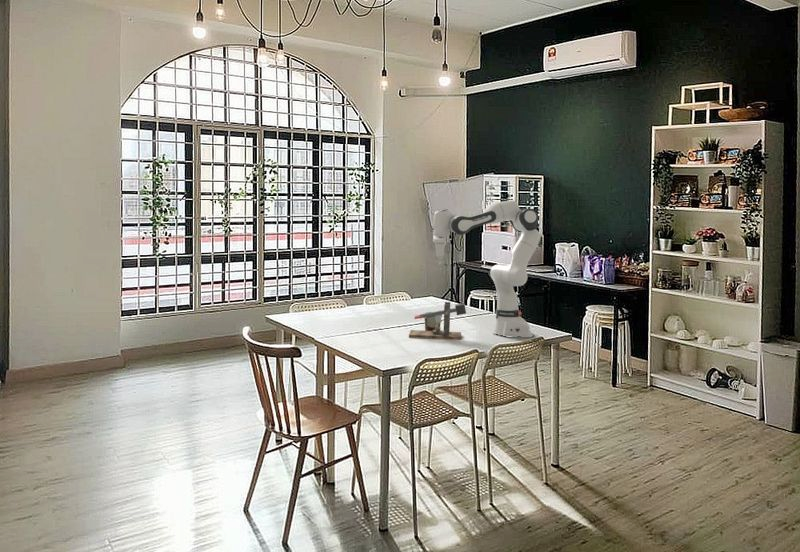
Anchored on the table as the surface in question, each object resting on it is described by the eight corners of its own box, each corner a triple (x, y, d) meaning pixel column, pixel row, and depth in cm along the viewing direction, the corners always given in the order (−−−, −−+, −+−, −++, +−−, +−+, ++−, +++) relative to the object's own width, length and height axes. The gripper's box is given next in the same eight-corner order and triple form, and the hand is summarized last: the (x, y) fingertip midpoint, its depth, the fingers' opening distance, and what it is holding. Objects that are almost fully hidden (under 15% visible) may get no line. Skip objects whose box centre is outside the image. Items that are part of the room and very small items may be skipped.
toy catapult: (461, 334, 386) (462, 302, 383) (460, 339, 374) (462, 306, 371) (410, 332, 388) (411, 300, 386) (409, 337, 377) (409, 303, 374)
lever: (466, 316, 380) (464, 303, 380) (466, 317, 376) (464, 304, 375) (416, 325, 384) (414, 312, 383) (416, 326, 379) (413, 313, 378)
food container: (434, 328, 402) (434, 311, 400) (441, 330, 397) (442, 312, 396) (418, 330, 394) (418, 313, 392) (425, 332, 389) (426, 315, 388)
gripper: (436, 236, 396) (435, 261, 398) (434, 240, 376) (433, 265, 378) (447, 237, 395) (446, 261, 397) (445, 240, 375) (445, 265, 377)
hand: (440, 263), depth 387 cm, fingers open, 8 cm apart
